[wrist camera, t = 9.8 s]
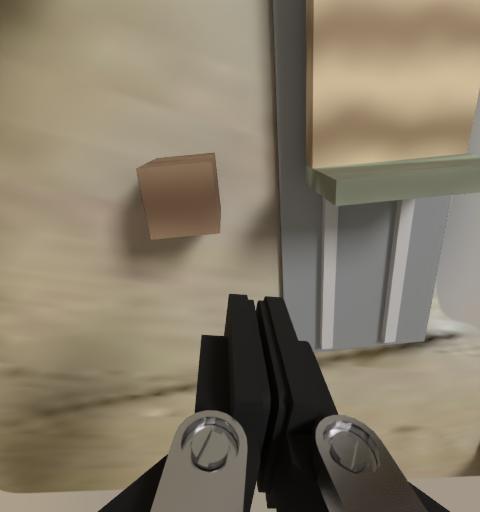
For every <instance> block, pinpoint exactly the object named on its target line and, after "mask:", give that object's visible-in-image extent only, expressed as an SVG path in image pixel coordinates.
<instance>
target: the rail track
mask: <svg viewBox="0 0 480 512" xmlns="http://www.w3.org/2000/svg"><path fill="white" fill-rule="evenodd" d="M272 2H273V30H274V58H275V87H276V115H277V143H278V171H279V200H280V228H281V256H282V285H283V299H284V301H285V304H286V307H287V310H288V313H289V315H290V318H291V321H292V324H293V327H294V330H295V332H296V335H297V338H298V341H307V342H309V343H310V345H311V347H312V350H313V352H321V351H331V350H340V349H350V348H360V347H370V346H380V345H390V344H400V343H410V342H419V341H424V340H425V335H426V329H427V324H428V319H429V313H430V308H431V303H432V297H433V292H434V287H435V281H436V276H437V270H438V265H439V260H440V254H441V249H442V244H443V238H444V233H445V228H446V222H447V217H448V212H449V206H450V201H451V196H452V195H446V196H436V197H425V198H415V199H405V200H394V201H384V202H374V203H363V204H353V205H343V206H335V205H333V204H332V203H331V202H329V201H328V200H326V199H325V198H324V197H322V196H321V195H320V194H318V193H317V192H316V191H314V190H313V189H311V188H310V187H309V186H307V185H306V0H272Z"/></svg>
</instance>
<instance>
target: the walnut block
mask: <svg viewBox="0 0 480 512" xmlns="http://www.w3.org/2000/svg"><path fill="white" fill-rule="evenodd" d="M136 171H137V176H138V181H139V185H140V190H141V195H142V200H143V204H144V209H145V214H146V218H147V223H148V228H149V233H150V237H151V240H155V239H166V238H176V237H186V236H197V235H207V234H217V233H220V219H221V206H220V197H219V188H218V179H217V170H216V161H215V153H207V154H197V155H186V156H175V157H164V158H156V159H154V160H152V161H150V162H149V163H147V164H145V165H143V166H141V167H139V168H137V169H136Z"/></svg>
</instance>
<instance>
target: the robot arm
mask: <svg viewBox="0 0 480 512" xmlns="http://www.w3.org/2000/svg"><path fill="white" fill-rule="evenodd" d="M256 481H257V487H258V491H259V492H265V493H266V501H267V508H276V510H277V512H450V511H448V510H447V509H446V508H444V507H443V506H441V505H440V504H438V503H437V502H436V501H434V500H433V499H432V498H430V497H429V496H428V495H426V494H425V493H423V492H422V491H421V490H419V489H418V488H416V487H415V486H414V485H412V484H411V483H410V482H408V481H407V479H406V478H405V476H404V475H403V473H402V471H401V470H400V468H399V467H398V465H397V464H396V462H395V461H394V459H393V458H392V456H391V455H390V453H389V451H388V450H387V448H386V447H385V445H384V444H383V442H382V441H381V440H380V438H379V437H378V436H377V435H376V433H375V432H374V431H373V430H371V429H370V428H369V427H368V426H367V425H365V424H364V423H362V422H360V421H358V420H357V419H355V418H352V417H348V416H345V415H338V412H337V410H336V407H335V405H334V402H333V400H332V397H331V395H330V392H329V390H328V387H327V385H326V382H325V380H324V377H323V375H322V372H321V370H320V367H319V365H318V362H317V360H316V357H315V355H314V352H313V350H312V347H311V345H310V343H309V342H307V341H298V338H297V335H296V332H295V330H294V327H293V324H292V321H291V318H290V315H289V313H288V310H287V307H286V304H285V301H284V299H283V298H281V297H267V296H265V298H264V301H258V303H257V308H256V311H255V305H254V300H248V297H247V295H239V294H229V299H228V307H227V315H226V324H225V332H224V336H212V335H202V338H201V349H200V360H199V371H198V382H197V393H196V404H195V414H193V415H191V416H189V417H188V418H186V419H185V420H184V421H183V422H182V423H181V424H180V426H179V427H178V429H177V431H176V433H175V435H174V438H173V441H172V444H171V447H170V451H169V454H167V455H166V456H165V457H164V458H163V459H161V460H160V461H159V462H158V463H156V464H155V465H154V466H153V467H152V468H150V469H149V470H148V471H147V472H146V473H144V474H143V475H142V476H141V477H139V478H138V479H137V480H136V481H135V482H133V483H132V484H131V485H130V486H129V487H127V488H126V489H125V490H124V491H122V492H121V493H120V494H119V495H118V496H117V497H115V498H114V499H113V500H111V501H110V502H109V503H108V504H107V505H105V506H104V507H103V508H102V509H101V510H99V511H98V512H250V508H251V504H252V499H253V494H254V490H255V485H256Z"/></svg>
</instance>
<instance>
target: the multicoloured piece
mask: <svg viewBox="0 0 480 512" xmlns="http://www.w3.org/2000/svg"><path fill="white" fill-rule="evenodd" d="M479 88H480V0H306V185H307V186H309V187H310V188H311V189H313V190H314V191H316V192H317V193H318V194H320V195H321V196H322V197H324V198H325V199H326V200H328V201H329V202H331V203H332V204H333V205H335V206H343V205H353V204H363V203H374V202H384V201H394V200H405V199H415V198H425V197H436V196H446V195H457V194H465V193H466V194H467V193H477V192H480V155H473V154H467V150H468V145H469V139H470V134H471V129H472V124H473V119H474V114H475V109H476V104H477V99H478V94H479Z"/></svg>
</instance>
